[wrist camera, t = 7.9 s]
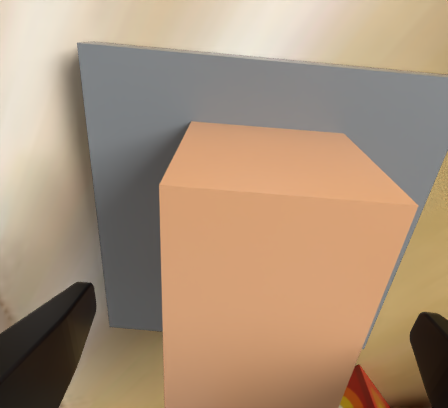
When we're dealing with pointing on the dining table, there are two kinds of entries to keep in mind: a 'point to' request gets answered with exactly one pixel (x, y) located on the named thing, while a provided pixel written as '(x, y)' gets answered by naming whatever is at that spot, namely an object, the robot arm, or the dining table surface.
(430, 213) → the dining table surface
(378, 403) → the baking soda box
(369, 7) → the dining table surface
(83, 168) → the dining table surface
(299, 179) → the brick bottom
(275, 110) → the baseplate
